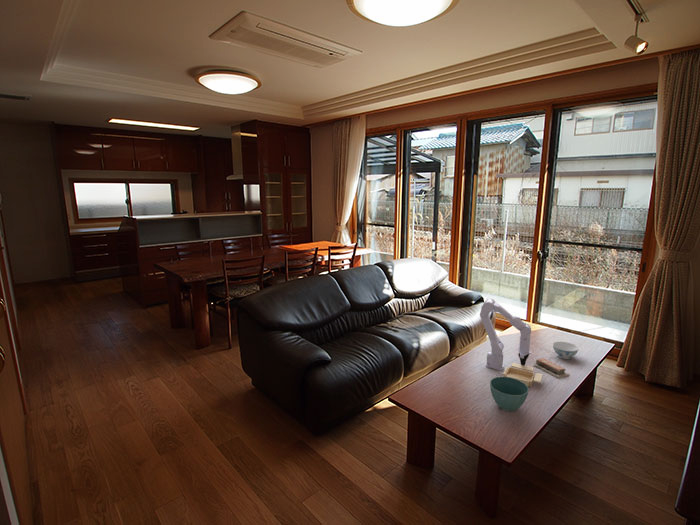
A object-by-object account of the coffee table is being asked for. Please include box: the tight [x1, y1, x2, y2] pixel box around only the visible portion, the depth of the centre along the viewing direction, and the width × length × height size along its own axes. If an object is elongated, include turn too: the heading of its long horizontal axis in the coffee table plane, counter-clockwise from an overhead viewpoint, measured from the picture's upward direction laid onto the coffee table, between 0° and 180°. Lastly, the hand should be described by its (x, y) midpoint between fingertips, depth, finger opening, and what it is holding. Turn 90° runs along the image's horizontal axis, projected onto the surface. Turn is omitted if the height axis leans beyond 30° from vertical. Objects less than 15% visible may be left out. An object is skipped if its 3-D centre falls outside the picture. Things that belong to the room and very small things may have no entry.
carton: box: [502, 366, 536, 388], centre depth 217 cm, size 16×13×3 cm
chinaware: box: [552, 341, 579, 360], centre depth 244 cm, size 15×15×8 cm
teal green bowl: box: [489, 376, 529, 412], centre depth 189 cm, size 18×18×12 cm
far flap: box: [533, 372, 543, 384], centre depth 211 cm, size 1×10×4 cm
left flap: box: [510, 362, 534, 373], centre depth 223 cm, size 12×1×4 cm
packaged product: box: [533, 358, 570, 379], centre depth 227 cm, size 18×5×10 cm
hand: (522, 364), depth 225 cm, fingers closed
